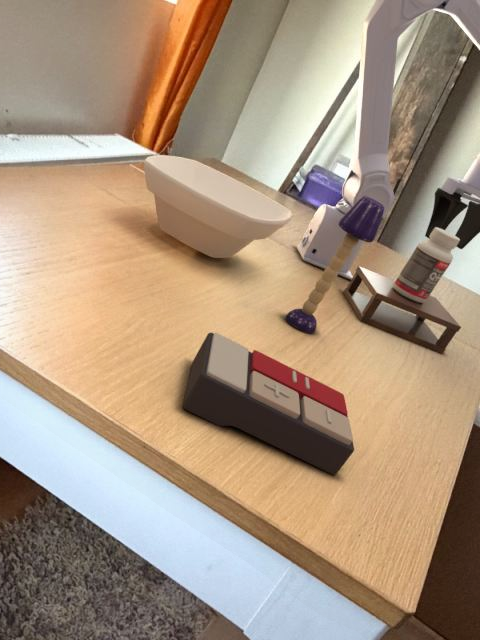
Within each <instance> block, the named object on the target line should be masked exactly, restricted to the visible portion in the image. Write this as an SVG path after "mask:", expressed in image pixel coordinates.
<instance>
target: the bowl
mask: <svg viewBox="0 0 480 640" xmlns="http://www.w3.org/2000/svg"><path fill="white" fill-rule="evenodd" d="M143 170H144V171H143V172H144V177H145V183H146V184H145V185H146V189H147V190H148V192H151V193H152V194H153V197H154V203H155V210H156V216H157V225H158V228H159V229H160V230H161V231H163V232H165V233H166V234H167V235H169V236H171V237H172V238H174V239H175V240H177V241H179V242H180V243H182V244H184V245H186V246H188V247H189V248H191V249H194V250H195V251H198V252H200V253H201V254H204V255H206V256H208V257H210V258H212V259H213V258H214V259H227V258H232V257H234V256H235V255H236V254H238V253H239V252H240V251H241V250H243V249H244V248H246V247H247V246H249V245H250V244H251V243H252V242H254V241H259V240H265V239H267V238H269V237H270V236H272V235H274V233H276V232H277V231H279V230H280V229H281V228H283V227H284V226H286V224H288V223H289V222H291V220H292V219H293V214H292V211H291V210H290V209H288V208H287V207H285V206H284V205H282V204H281V203H279V202H277V201H276V200H275V199H272V198H270V197H269V196H267V195H265V194H263V193H262V192H260V191H258V190H257V189H254V188H252V187H251V186H249V185H247V184H245V183H243V182H241V181H239V180H237V179H235V178H234V177H231V176H229V175H227V174H226V173H223V172H221V171H219V170H218V169H215V168H213V167H211V166H209V165H207V164H204V163H202V162H200V161H197V160H195V159H191V158H188V157H187V158H186V157H182V156H176V155H167V154H166V155H165V154H156V155H149V156H147V157H145V159H144V161H143Z"/></svg>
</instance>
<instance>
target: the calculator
mask: <svg viewBox="0 0 480 640" xmlns="http://www.w3.org/2000/svg"><path fill="white" fill-rule="evenodd" d="M191 362H192V363H191V366H190V371H189V375H188V380H187V383H186V384H187V385H186V389H185V393H184V398H183V403H182V407H183V408H184V410H186V411H188V412H190V413H192V414H194V415H196V416H198V417H200V418H202V419H204V420H206V421H209V422H210V423H212V424H214V425H216V426H219V427H226V426H232V427H235V428H237V429H239V430H241V431H243V432H245V433H247V434H249V435H251V436H253V437H255V438H257V439H259V440H260V441H263V442H265V443H267V444H269V445H271V446H273V447H276V448H277V449H280V450H281V451H284V452H285V453H288V454H290V455H292V456H294V457H296V458H298V459H300V460H302V461H304V462H306V463H308V464H310V465H312V466H314V467H316V468H318V469H320V470H322V471H324V472H327V473H328V474H331V475H333V476H335V475H337V474H338V473H339V471H340V470H341V469H342V467H343V466H344V465H345V464H346V462H347V461H348V460H349V458H350V457H351V456H352V454H353V453H354V452H355V447H354V439H353V438H354V437H353V433H352V427H351V422H350V419H349V416H348V408H347V402H346V398H345V395H344V394H343V392H340V391H338V390H337V389H334V388H332V387H330V386H328V385H326V384H324V383H322V382H321V381H318V380H316V379H315V378H312V377H310V376H308V375H306V374H304V373H302V372H300V371H298V370H297V369H294V368H292V367H291V366H288V365H287V364H284V363H283V362H281V361H278V360H277V359H275V358H273V357H270V356H269V355H267V354H265V353H263V352H260V351H259V350H256V349H253V351H252V352H251V351H250V350H249V348H248V347H246V346H244V345H242V344H240V343H238V342H236V341H235V340H232V339H230V338H229V337H226V336H225V335H222V334H220V333H218V332H214V333H213V332H208V333H207V335H206V337H205V338H204V340H203V342H202V344H201V346H200V347H199V350H198V351H197V353H196V355H195V356H194V358H193V360H192V361H191Z"/></svg>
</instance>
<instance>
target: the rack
mask: <svg viewBox="0 0 480 640" xmlns="http://www.w3.org/2000/svg"><path fill="white" fill-rule="evenodd" d="M352 276H353V278H352V280H350V282H349V283H348V285H347V286H346V287H345V288H344V290H343V292H342V293H343V295H344V297H345V298H346V299H347V302H348V303H349V304H350V307H351V308H352V310H353V311H354V313H355V315H356V316H357V318H358V320H359V321H360V322H362V323H365V324H367V325H369V326H372V327H373V328H377V329H380V330H382V331H385V332H387V333H389V334H392V335H395V336H396V337H400V338H402V339H405V340H406V341H410V342H413V343H415V344H417V345H419V346H421V347H423V348H427V349H429V350H432V351H434V352H437V353H439V354H444V353H445V352H446V350H447V349H446V348H447V347H448V345H449V344H450V342H451V341H452V340H453V338H454V336H455V335H456V334H457V333H458V332H459V331H460V330H461V328H462V326H461V325H460V324H459V323H458V321H457V320H456V319H455V318H454V317H453V316H452V315H451V313H450V312H449V311H448V310H447V309H446V308H445V306H444V305H442V303H441V302H440V301H439V300H438V299H437V297H435V296H432V295H431V294H430V295H429V297H428V298H427V300H426V301H425V302H424V303H418V302H415V301H413V300H410V299H408V298H406V297H404V296H403V295H401V294H399V293H398V292H397V291H396V290H395V289H394V288H393V285H394V283H395V281H396V280H393V279H391V278H390V277H386V276H384V275H382V274H379V273H377V272H374V271H373V270H369V269H367V268H365V267H362V266H359V265H358V266H357V267H356V270H355V273H354V274H353V275H352ZM362 282H363V283H364V285H365V286H366V288H367V290H368V291H369V292H370V293H371V295H372V296H367V295H365V294H362V293H360V292H357V290H358V288H359V286H360V285H361V283H362ZM426 320H428V321H430V322H433V323H435V324H437V325H440V326H441V327H444V328H445V329H444V330H443V332H442V333H441V335H440V336H439V338H438V337H437V336H436V335H435V333H434V332H433V331H432V330H431V328H430V326H429V325H428V324H427V323H426V322H425V321H426Z"/></svg>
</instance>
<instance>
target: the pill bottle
mask: <svg viewBox="0 0 480 640" xmlns="http://www.w3.org/2000/svg"><path fill="white" fill-rule="evenodd" d="M455 235H456V234H453V233H451V232H449V231H447V230H443V229H440V228H437V227H435V228H434V230H433V231H432V232H431V234H430V236H429V237H430V239H429V238H428V240H422V241H420V242H419V243H418V244H417V246H416V247H415V248H414V250H413V252H412V254H411V255H410V257H409V259H408V261H406V263H405V265H404V267H403V268H402V269H401V271H400V273H399V274H398V276H397V278H396V279H395V280H394V281H395V283H394V285H393V288H394V289H395V290H396V291H397V292H398V293H399V294H401V295H403V296H404V297H406V298H408V299H410V300H413V301H415V302H418V303H424V302H425V301H426V300H427V298H428V297H429V295H430V296H431V294H432V292H433V291H434V290H435V288H436V286H437V285H438V283H439V282H440V280H441V279H442V277H443V276H444V274H445V272H446V271H447V270H448V268H449V266H450V265H451V263H452V262H453V260H454V256H453V254H452V253H451V252H452V250H455V248H457V247H456V246H457V244H458V243H459V241H460V239H459V238H458V237H456V236H455Z"/></svg>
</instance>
